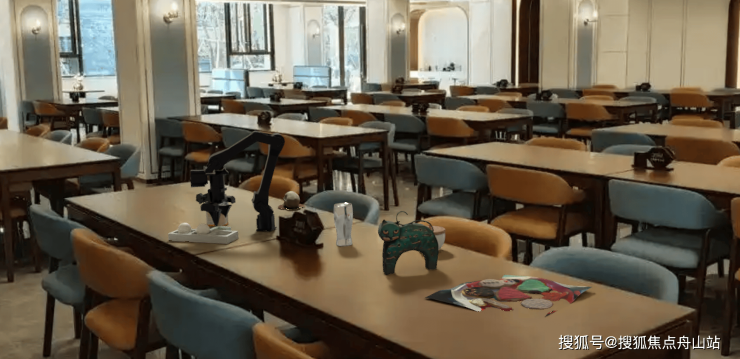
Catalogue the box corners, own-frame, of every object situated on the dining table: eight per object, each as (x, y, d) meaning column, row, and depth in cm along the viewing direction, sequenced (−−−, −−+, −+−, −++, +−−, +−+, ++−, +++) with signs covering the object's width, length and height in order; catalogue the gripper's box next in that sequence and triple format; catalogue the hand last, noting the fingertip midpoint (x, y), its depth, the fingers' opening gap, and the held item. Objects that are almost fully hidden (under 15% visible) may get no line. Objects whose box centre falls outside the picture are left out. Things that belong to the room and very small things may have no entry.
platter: (491, 273, 259) (491, 268, 258) (593, 294, 236) (593, 287, 235) (424, 300, 233) (424, 294, 233) (531, 326, 210) (531, 319, 210)
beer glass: (351, 247, 295) (350, 206, 293) (332, 246, 297) (331, 206, 294) (355, 242, 302) (354, 202, 300) (337, 242, 303) (336, 202, 301)
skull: (271, 205, 373) (284, 187, 375) (288, 217, 378) (300, 200, 380) (281, 208, 363) (294, 189, 365) (298, 221, 367) (311, 203, 369)
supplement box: (228, 224, 340) (227, 193, 338) (225, 226, 335) (224, 195, 333) (209, 224, 341) (207, 193, 338) (206, 226, 336) (204, 195, 334)
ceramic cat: (381, 276, 257) (380, 214, 254) (376, 271, 263) (374, 210, 260) (440, 270, 262) (440, 209, 259) (434, 265, 268) (433, 205, 265)
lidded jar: (443, 254, 281) (443, 228, 280) (413, 253, 284) (412, 227, 282) (447, 247, 292) (446, 221, 290) (417, 246, 294) (417, 221, 292)
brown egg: (228, 225, 324) (227, 212, 324) (222, 228, 320) (221, 215, 319) (216, 224, 326) (216, 211, 325) (210, 227, 321) (209, 214, 320)
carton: (238, 238, 314) (237, 222, 313) (227, 243, 305) (226, 227, 304) (180, 235, 321) (179, 219, 320) (168, 240, 313) (167, 224, 312)
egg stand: (231, 231, 325) (230, 226, 325) (223, 235, 319) (223, 230, 319) (216, 230, 327) (216, 226, 327) (209, 234, 321) (208, 229, 321)
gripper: (210, 181, 331) (212, 218, 334) (187, 189, 314) (189, 228, 316) (235, 182, 328) (237, 219, 331) (213, 190, 310) (215, 230, 313)
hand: (219, 224), depth 323 cm, fingers closed on brown egg, 5 cm apart
